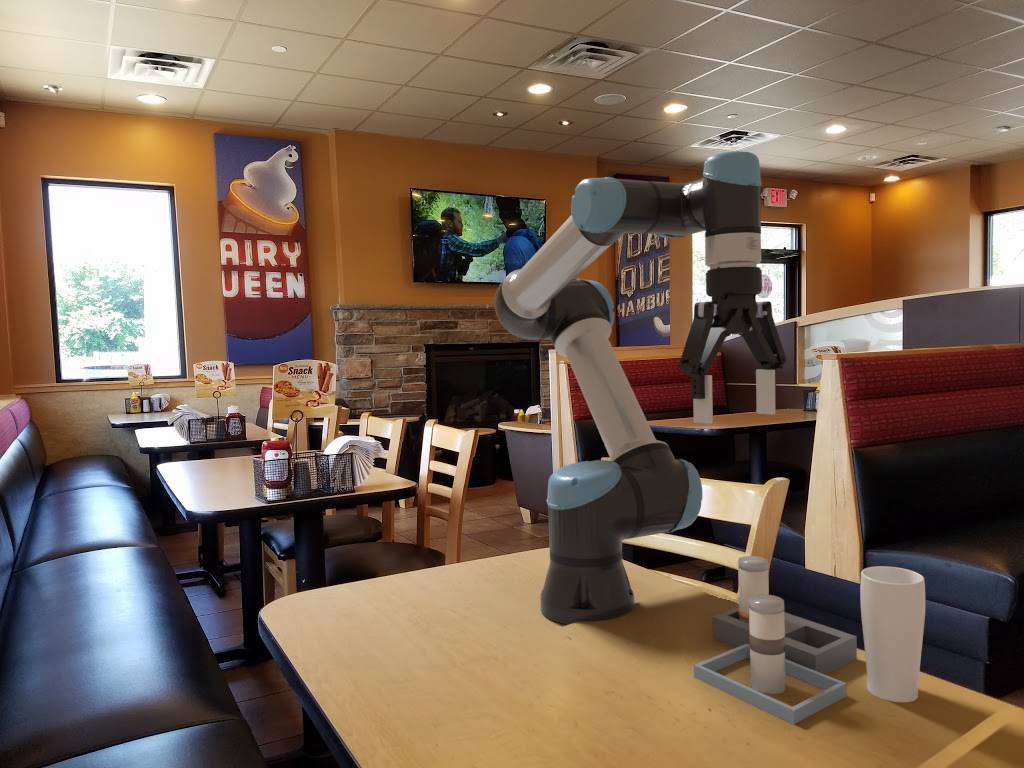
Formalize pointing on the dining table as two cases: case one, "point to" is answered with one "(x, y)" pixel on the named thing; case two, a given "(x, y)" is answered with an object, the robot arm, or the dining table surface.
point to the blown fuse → (767, 644)
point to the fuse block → (795, 641)
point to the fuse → (751, 582)
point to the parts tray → (795, 714)
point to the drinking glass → (892, 630)
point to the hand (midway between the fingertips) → (735, 418)
